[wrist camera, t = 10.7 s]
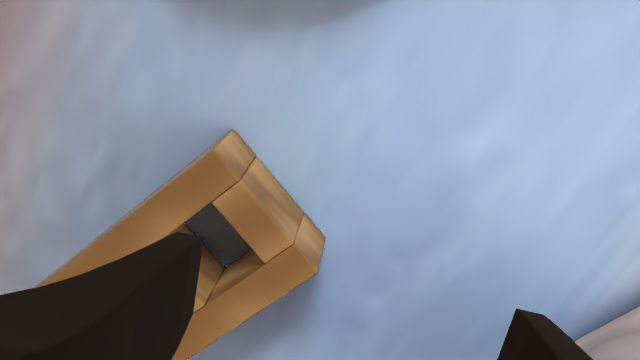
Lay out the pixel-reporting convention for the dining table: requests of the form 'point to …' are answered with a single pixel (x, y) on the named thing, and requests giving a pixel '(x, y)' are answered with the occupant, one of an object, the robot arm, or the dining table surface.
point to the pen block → (213, 281)
